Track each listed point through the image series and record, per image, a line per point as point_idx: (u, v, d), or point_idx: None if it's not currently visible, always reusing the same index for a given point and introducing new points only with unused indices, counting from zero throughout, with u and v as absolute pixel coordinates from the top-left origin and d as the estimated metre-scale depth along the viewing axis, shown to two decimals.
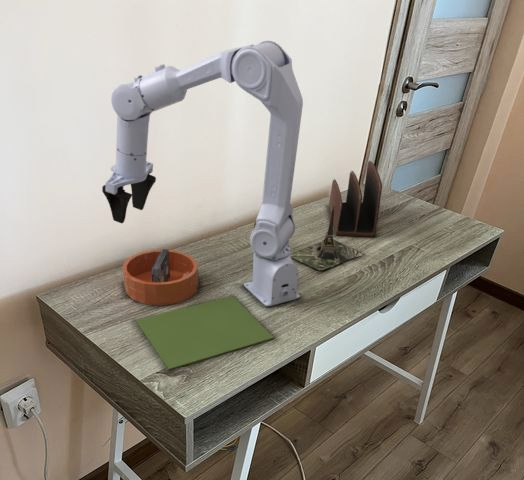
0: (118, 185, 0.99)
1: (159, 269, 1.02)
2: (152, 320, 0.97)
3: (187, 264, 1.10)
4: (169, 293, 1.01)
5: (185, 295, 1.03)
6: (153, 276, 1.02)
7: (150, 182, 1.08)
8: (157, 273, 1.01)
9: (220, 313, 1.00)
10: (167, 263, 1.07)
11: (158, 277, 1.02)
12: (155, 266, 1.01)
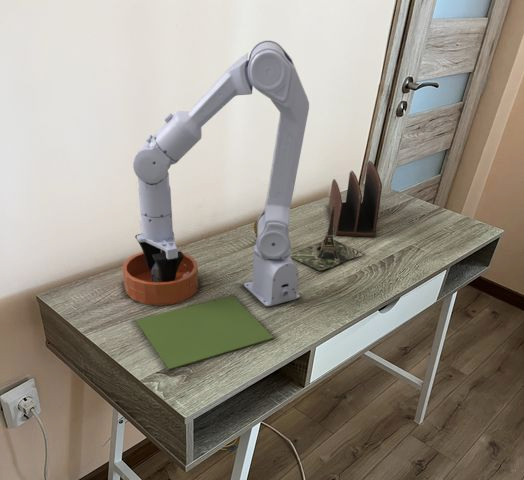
0: None
1: None
2: (152, 320, 0.97)
3: (187, 264, 1.10)
4: (169, 293, 1.01)
5: (185, 295, 1.03)
6: (153, 276, 1.02)
7: None
8: (157, 273, 1.01)
9: (220, 313, 1.00)
10: None
11: (158, 277, 1.02)
12: (155, 266, 1.01)
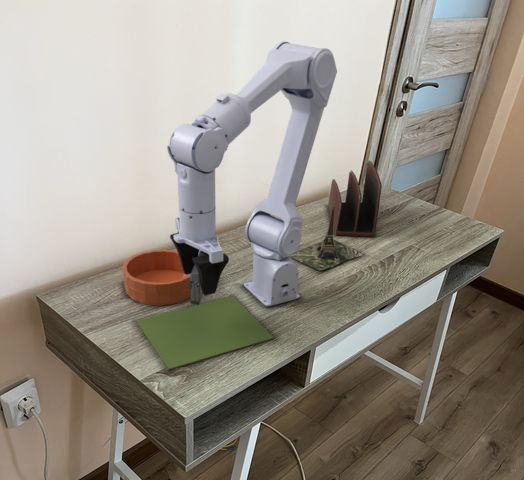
0: None
1: None
2: (152, 320, 0.97)
3: None
4: (169, 293, 1.01)
5: (185, 295, 1.03)
6: (192, 283, 0.87)
7: None
8: (196, 279, 0.86)
9: (220, 313, 1.00)
10: None
11: (197, 284, 0.87)
12: (194, 271, 0.86)
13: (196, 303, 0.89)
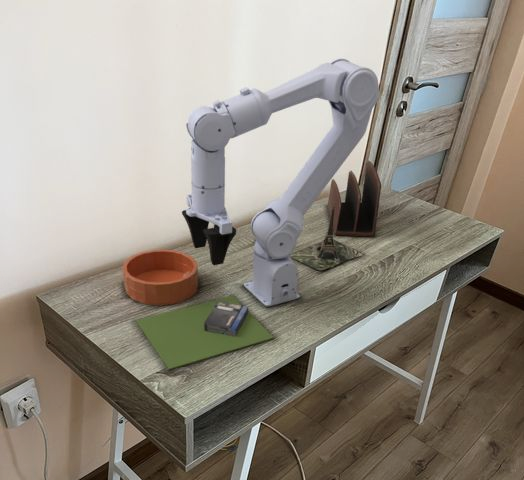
0: None
1: None
2: (152, 320, 0.97)
3: (187, 264, 1.10)
4: (169, 293, 1.01)
5: (185, 295, 1.03)
6: (225, 329, 0.94)
7: None
8: (229, 334, 0.94)
9: None
10: None
11: (224, 333, 0.95)
12: (236, 331, 0.94)
13: (205, 328, 0.95)
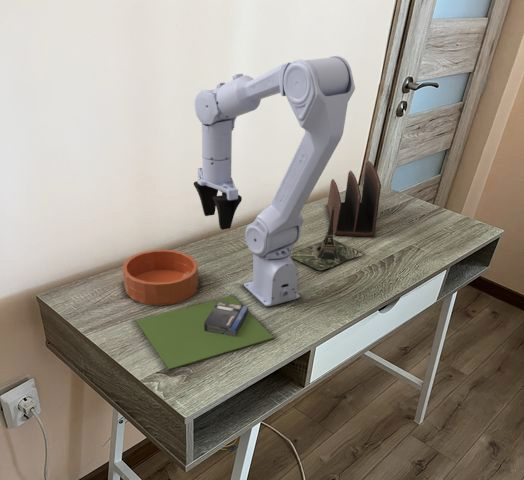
0: None
1: None
2: (152, 320, 0.97)
3: (187, 264, 1.10)
4: (169, 293, 1.01)
5: (185, 295, 1.03)
6: (225, 329, 0.94)
7: None
8: (229, 334, 0.94)
9: None
10: None
11: (224, 333, 0.95)
12: (236, 331, 0.94)
13: (205, 328, 0.95)
